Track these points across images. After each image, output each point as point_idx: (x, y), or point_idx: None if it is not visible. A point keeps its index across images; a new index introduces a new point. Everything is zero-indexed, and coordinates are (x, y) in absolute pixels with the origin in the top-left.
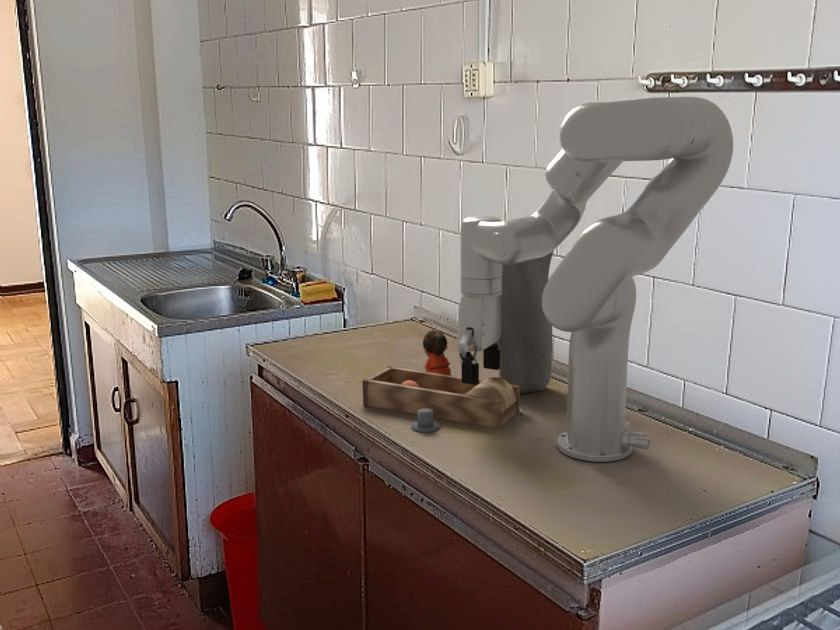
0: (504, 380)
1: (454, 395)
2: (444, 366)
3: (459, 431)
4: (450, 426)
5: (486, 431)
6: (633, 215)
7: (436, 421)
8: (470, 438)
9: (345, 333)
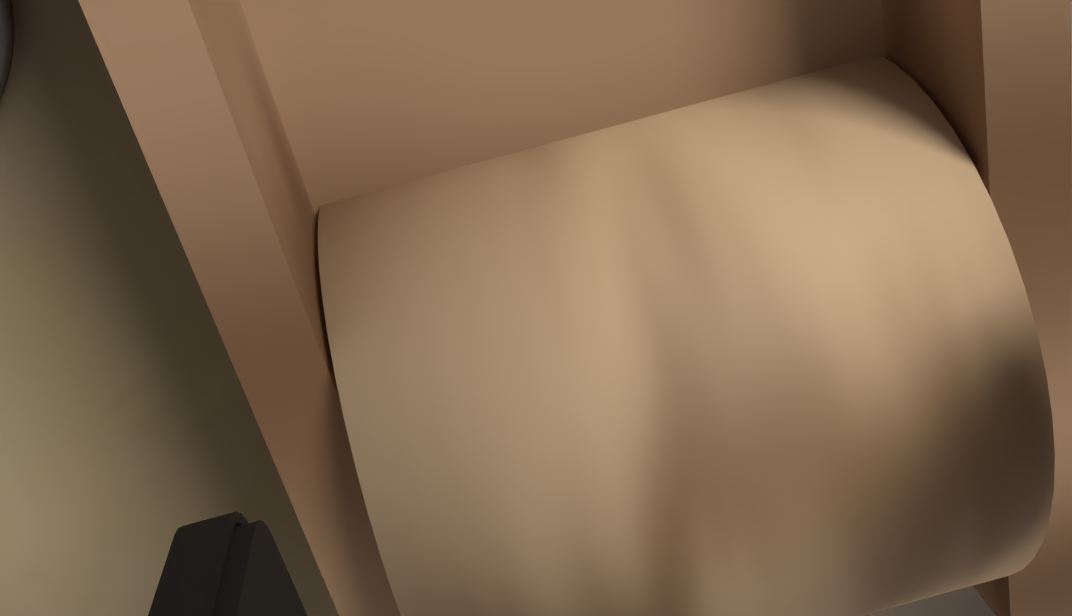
0: (1029, 547)
1: (188, 257)
2: None
3: (69, 373)
4: (92, 212)
5: (281, 541)
6: None
7: (5, 32)
8: (30, 551)
9: None
